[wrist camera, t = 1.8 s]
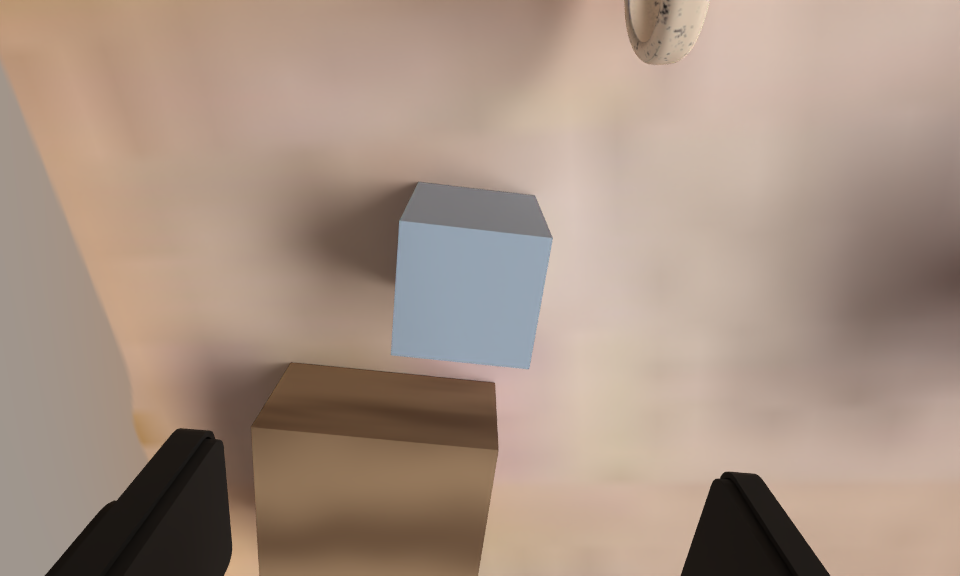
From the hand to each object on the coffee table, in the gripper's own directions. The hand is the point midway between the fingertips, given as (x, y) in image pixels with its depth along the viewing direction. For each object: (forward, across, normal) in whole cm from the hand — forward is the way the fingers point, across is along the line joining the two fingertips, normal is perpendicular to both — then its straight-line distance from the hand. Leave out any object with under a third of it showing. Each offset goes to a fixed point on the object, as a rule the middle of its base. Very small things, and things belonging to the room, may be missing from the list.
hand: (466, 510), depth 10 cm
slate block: (+15, 0, -1) cm, 15 cm away
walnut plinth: (+15, +3, +11) cm, 19 cm away
